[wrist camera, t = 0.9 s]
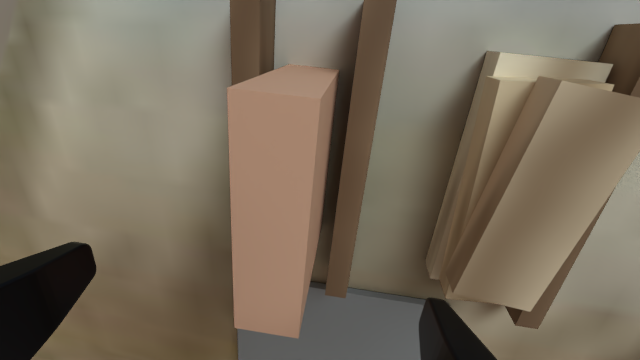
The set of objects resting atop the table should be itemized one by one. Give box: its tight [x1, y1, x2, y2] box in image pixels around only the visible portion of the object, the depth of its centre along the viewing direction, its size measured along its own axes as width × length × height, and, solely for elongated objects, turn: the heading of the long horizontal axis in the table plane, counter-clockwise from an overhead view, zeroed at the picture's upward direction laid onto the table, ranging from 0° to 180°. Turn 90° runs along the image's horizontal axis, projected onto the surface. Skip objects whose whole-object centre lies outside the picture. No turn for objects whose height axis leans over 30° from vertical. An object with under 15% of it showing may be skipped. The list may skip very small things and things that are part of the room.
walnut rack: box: [230, 0, 640, 329], centre depth 16 cm, size 17×15×2 cm
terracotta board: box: [227, 64, 339, 339], centre depth 14 cm, size 2×9×8 cm, turn 175°
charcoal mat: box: [237, 282, 449, 360], centre depth 24 cm, size 14×14×1 cm
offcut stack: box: [425, 51, 640, 312], centre depth 15 cm, size 5×12×4 cm, turn 175°
